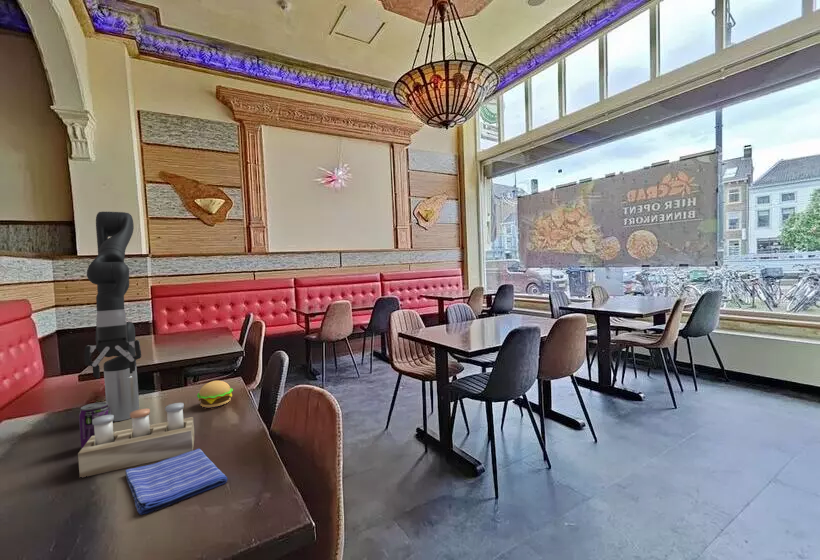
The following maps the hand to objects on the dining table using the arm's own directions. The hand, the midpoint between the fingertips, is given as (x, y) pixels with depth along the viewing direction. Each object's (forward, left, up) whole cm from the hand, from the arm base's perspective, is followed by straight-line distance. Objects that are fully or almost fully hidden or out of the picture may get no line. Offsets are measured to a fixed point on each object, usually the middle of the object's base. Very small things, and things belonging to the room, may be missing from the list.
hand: (114, 375), depth 123 cm
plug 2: (+26, +18, -13) cm, 34 cm away
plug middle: (+26, +10, -13) cm, 31 cm away
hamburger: (-10, +28, -18) cm, 35 cm away
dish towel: (+46, +19, -19) cm, 53 cm away
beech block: (+26, +10, -18) cm, 33 cm away
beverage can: (+11, -3, -18) cm, 21 cm away
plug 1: (+26, +2, -13) cm, 29 cm away
